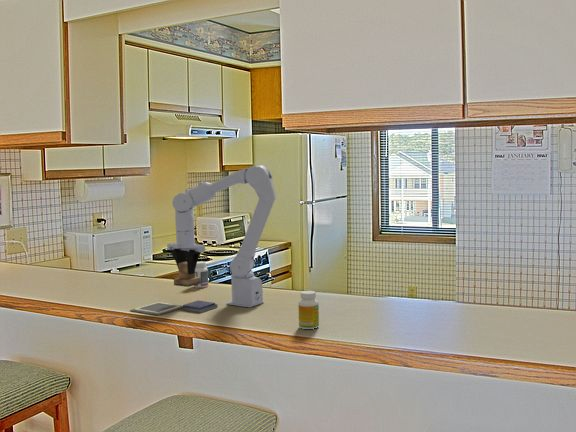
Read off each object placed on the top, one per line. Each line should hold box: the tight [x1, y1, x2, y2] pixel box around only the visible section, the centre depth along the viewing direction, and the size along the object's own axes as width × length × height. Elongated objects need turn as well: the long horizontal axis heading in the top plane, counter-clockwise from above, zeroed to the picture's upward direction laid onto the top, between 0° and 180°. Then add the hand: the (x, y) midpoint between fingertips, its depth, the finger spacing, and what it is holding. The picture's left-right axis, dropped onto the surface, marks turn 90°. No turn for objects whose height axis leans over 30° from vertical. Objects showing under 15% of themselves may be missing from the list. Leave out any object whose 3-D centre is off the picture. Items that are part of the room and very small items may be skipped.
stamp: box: [173, 261, 201, 288], centre depth 202 cm, size 6×6×7 cm
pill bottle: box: [193, 260, 209, 289], centre depth 229 cm, size 5×5×9 cm
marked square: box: [129, 301, 183, 317], centre depth 196 cm, size 12×12×1 cm
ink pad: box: [180, 299, 218, 314], centre depth 195 cm, size 8×8×2 cm
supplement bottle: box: [298, 290, 320, 330], centre depth 171 cm, size 5×5×10 cm
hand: (186, 273), depth 202 cm, fingers closed on stamp, 3 cm apart
